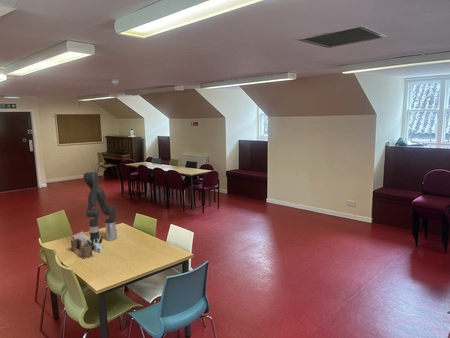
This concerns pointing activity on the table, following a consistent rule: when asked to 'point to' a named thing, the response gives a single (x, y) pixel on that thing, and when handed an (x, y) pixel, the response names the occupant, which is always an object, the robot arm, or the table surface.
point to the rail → (97, 247)
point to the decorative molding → (82, 238)
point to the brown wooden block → (81, 249)
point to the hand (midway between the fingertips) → (95, 249)
